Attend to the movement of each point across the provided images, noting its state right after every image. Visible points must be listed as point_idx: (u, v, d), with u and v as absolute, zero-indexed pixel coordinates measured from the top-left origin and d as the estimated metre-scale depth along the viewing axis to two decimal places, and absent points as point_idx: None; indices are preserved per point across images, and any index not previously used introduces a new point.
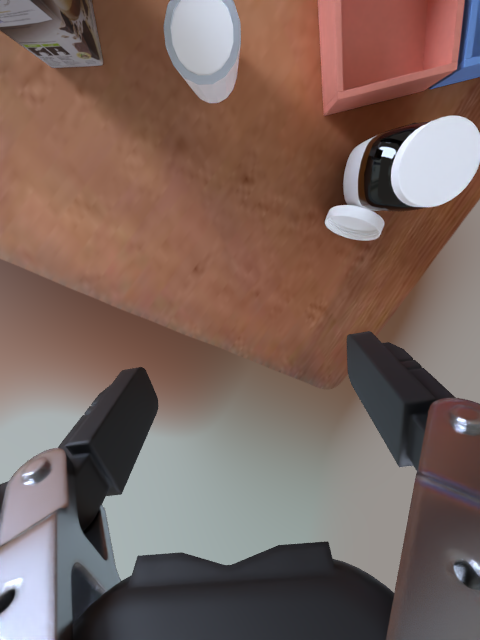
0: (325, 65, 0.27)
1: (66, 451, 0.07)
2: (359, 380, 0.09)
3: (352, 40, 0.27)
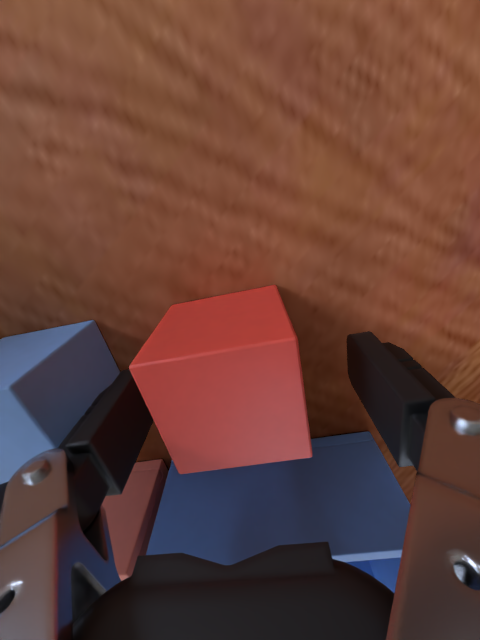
0: None
1: (66, 451, 0.07)
2: (359, 380, 0.09)
3: None
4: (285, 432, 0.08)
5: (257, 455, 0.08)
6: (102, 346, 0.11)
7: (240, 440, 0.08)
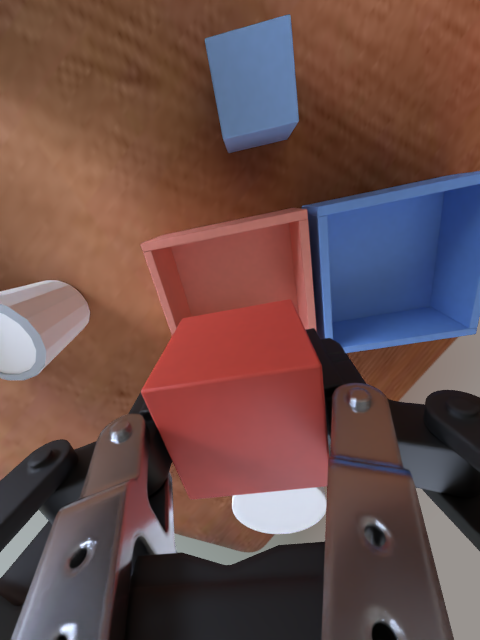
0: None
1: None
2: None
3: (213, 290, 0.23)
4: (303, 460, 0.07)
5: (273, 483, 0.08)
6: None
7: (256, 467, 0.07)
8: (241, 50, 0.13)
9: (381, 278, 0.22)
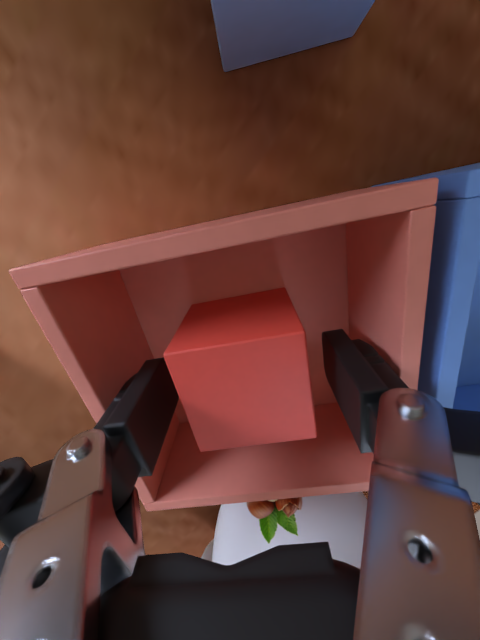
0: None
1: None
2: (331, 374, 0.09)
3: None
4: (293, 414, 0.09)
5: (269, 435, 0.09)
6: None
7: (254, 421, 0.09)
8: None
9: None
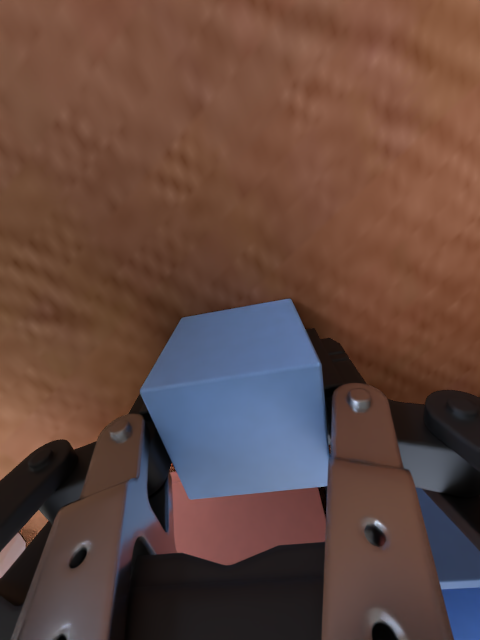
0: None
1: None
2: None
3: None
4: None
5: None
6: None
7: None
8: (217, 408, 0.06)
9: None
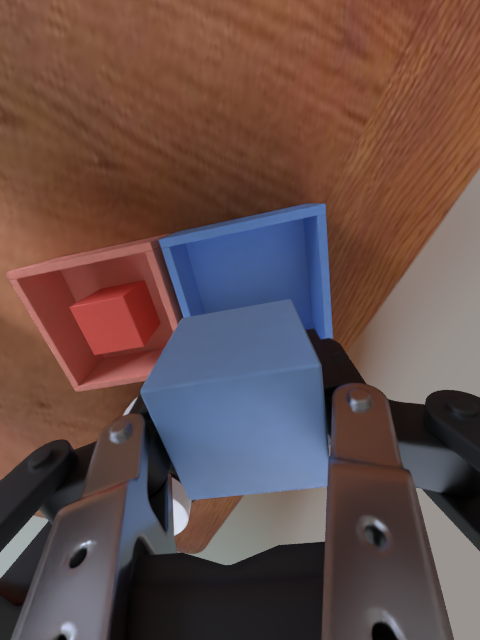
0: None
1: None
2: None
3: None
4: (130, 334, 0.20)
5: (122, 345, 0.21)
6: None
7: (114, 338, 0.20)
8: (217, 409, 0.06)
9: (261, 297, 0.23)
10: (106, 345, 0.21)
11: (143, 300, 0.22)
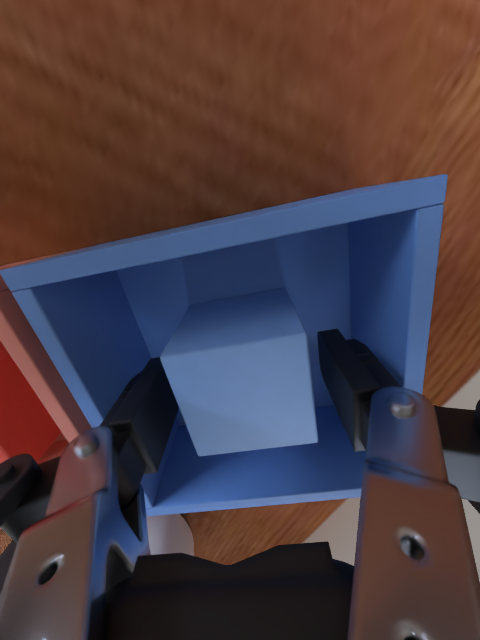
0: None
1: None
2: (327, 373, 0.09)
3: None
4: None
5: None
6: None
7: None
8: (223, 372, 0.08)
9: None
10: None
11: None
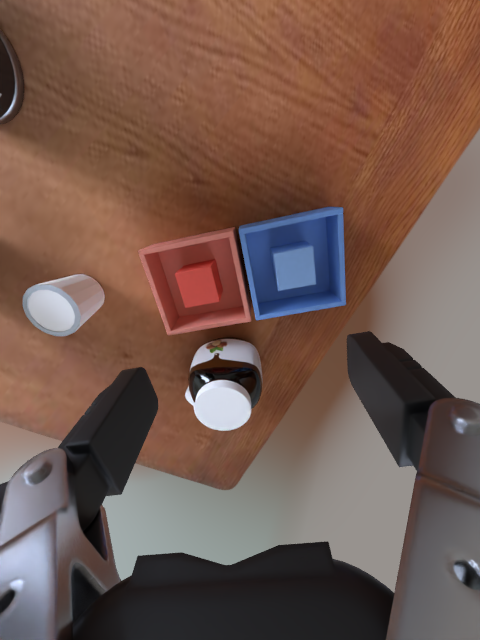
0: None
1: (66, 451, 0.07)
2: (359, 380, 0.09)
3: None
4: (211, 292, 0.31)
5: (205, 300, 0.31)
6: None
7: (200, 295, 0.31)
8: (290, 258, 0.29)
9: None
10: (194, 300, 0.31)
11: (216, 272, 0.32)
